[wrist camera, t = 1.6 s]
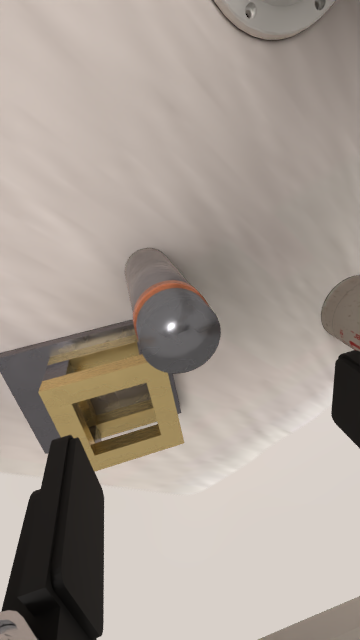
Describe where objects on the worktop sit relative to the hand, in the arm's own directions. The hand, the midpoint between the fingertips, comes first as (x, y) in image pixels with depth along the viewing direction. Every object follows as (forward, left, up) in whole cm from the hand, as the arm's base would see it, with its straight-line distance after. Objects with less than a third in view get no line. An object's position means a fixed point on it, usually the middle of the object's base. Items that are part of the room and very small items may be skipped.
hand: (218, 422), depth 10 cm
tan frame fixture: (+8, +11, -20) cm, 24 cm away
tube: (0, 0, -20) cm, 20 cm away
